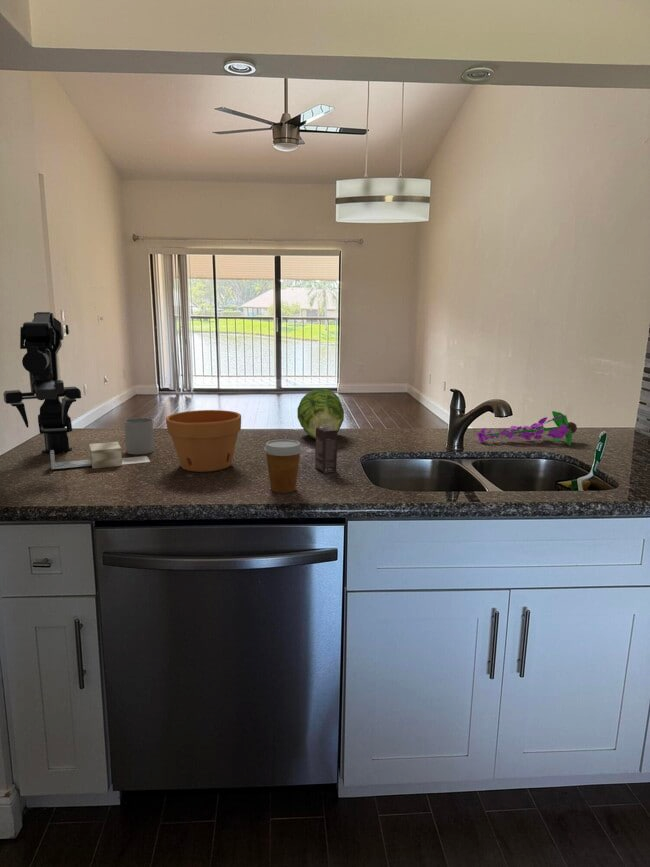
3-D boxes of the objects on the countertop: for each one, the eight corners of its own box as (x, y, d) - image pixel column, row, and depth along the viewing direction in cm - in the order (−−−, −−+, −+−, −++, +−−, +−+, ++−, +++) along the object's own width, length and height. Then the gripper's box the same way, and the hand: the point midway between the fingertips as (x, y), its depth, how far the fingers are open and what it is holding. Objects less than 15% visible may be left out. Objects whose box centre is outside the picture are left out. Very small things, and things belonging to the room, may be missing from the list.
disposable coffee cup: (271, 496, 143) (271, 449, 140) (259, 485, 151) (259, 440, 149) (307, 492, 146) (307, 445, 144) (294, 481, 155) (294, 437, 152)
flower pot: (153, 471, 164) (150, 419, 160) (194, 453, 183) (192, 407, 180) (219, 479, 157) (217, 425, 153) (254, 460, 176) (253, 412, 173)
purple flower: (580, 455, 203) (483, 465, 199) (559, 424, 215) (468, 433, 211) (591, 429, 194) (491, 439, 190) (569, 398, 206) (474, 407, 202)
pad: (122, 464, 169) (122, 464, 169) (119, 459, 176) (119, 458, 175) (150, 462, 172) (150, 461, 172) (146, 456, 179) (146, 455, 179)
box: (337, 471, 165) (338, 429, 163) (323, 473, 163) (323, 431, 161) (328, 466, 170) (328, 425, 168) (314, 467, 168) (314, 427, 166)
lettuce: (321, 463, 198) (289, 429, 192) (316, 436, 219) (287, 405, 213) (359, 432, 195) (328, 398, 189) (350, 408, 216) (322, 376, 210)
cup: (145, 455, 181) (144, 423, 178) (121, 453, 182) (119, 422, 180) (158, 448, 189) (157, 418, 186) (135, 447, 190) (133, 417, 188)
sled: (51, 469, 162) (50, 454, 161) (51, 465, 167) (50, 450, 166) (117, 462, 170) (116, 448, 169) (115, 459, 174) (114, 444, 173)
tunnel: (92, 468, 165) (91, 450, 164) (90, 461, 173) (89, 444, 172) (122, 465, 168) (121, 448, 167) (118, 458, 176) (117, 441, 175)
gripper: (5, 374, 147) (11, 434, 150) (83, 370, 157) (87, 427, 160) (0, 370, 156) (6, 427, 159) (74, 366, 166) (79, 420, 169)
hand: (45, 425), depth 162 cm, fingers open, 9 cm apart
